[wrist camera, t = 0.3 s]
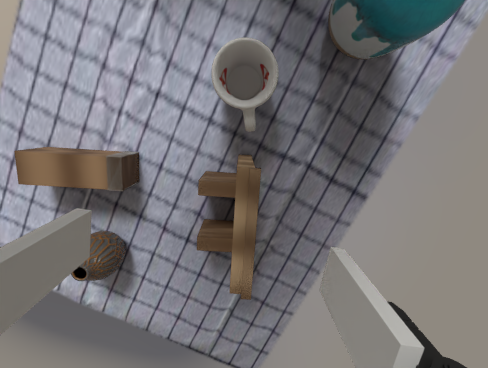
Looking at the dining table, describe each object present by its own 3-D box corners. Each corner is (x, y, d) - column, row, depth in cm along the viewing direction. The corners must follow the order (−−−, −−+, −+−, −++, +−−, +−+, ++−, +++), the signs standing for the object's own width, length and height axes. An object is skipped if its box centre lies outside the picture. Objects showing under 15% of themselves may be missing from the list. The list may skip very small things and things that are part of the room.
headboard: (206, 152, 41) (190, 165, 28) (255, 155, 41) (261, 169, 28) (203, 247, 44) (187, 296, 32) (248, 249, 45) (250, 299, 32)
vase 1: (97, 266, 45) (63, 299, 37) (84, 229, 44) (46, 255, 35) (136, 259, 45) (111, 291, 36) (124, 222, 43) (96, 246, 35)
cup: (275, 127, 40) (283, 128, 32) (223, 133, 40) (219, 136, 33) (268, 51, 38) (275, 32, 30) (213, 58, 38) (206, 41, 30)
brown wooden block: (50, 176, 42) (18, 184, 36) (47, 146, 41) (14, 150, 35) (139, 181, 42) (122, 191, 36) (138, 152, 41) (121, 156, 35)
